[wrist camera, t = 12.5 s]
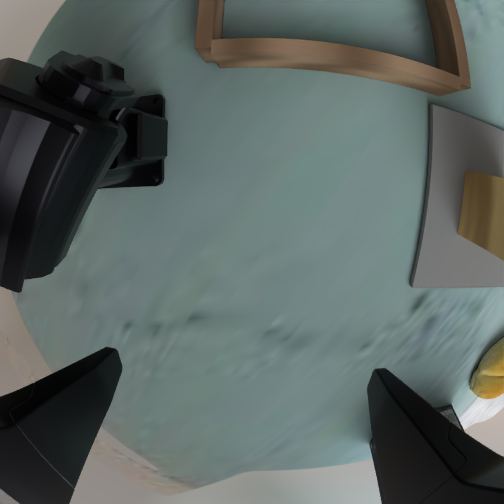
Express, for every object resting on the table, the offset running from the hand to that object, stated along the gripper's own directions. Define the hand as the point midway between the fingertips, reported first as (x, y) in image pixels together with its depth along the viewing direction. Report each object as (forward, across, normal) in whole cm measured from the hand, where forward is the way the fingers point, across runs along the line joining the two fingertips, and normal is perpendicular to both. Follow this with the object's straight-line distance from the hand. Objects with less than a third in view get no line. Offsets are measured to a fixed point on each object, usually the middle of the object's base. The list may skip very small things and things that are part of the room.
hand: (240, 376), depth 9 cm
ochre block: (+12, -18, -5) cm, 22 cm away
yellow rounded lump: (+12, -30, +13) cm, 35 cm away
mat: (+12, -18, -5) cm, 22 cm away
